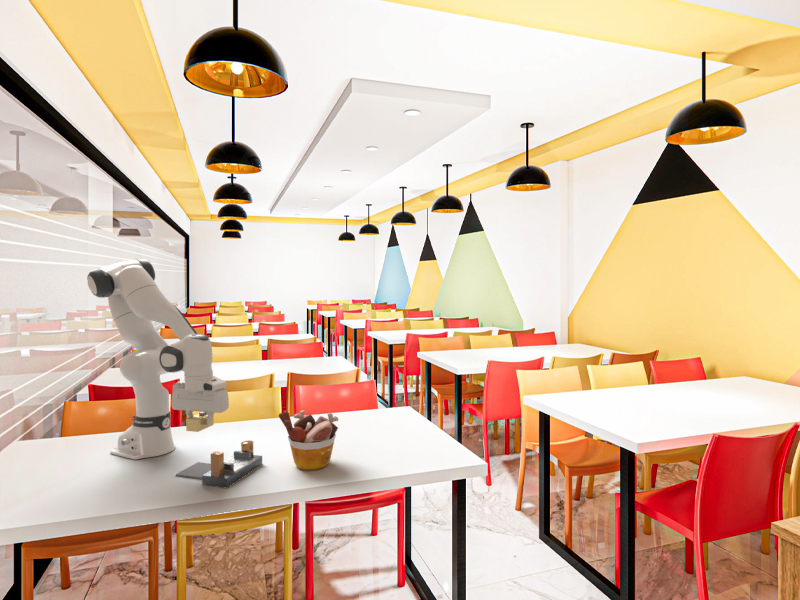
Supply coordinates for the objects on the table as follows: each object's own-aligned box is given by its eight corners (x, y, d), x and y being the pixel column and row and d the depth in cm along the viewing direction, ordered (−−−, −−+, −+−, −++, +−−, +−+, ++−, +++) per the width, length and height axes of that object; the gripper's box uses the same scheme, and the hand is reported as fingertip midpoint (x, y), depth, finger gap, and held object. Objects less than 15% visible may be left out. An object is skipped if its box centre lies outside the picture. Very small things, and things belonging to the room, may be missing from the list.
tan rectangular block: (198, 431, 160) (197, 417, 160) (186, 430, 161) (185, 416, 161) (213, 424, 167) (213, 410, 167) (202, 423, 169) (202, 410, 168)
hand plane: (227, 488, 152) (226, 456, 151) (202, 484, 154) (201, 453, 154) (262, 464, 171) (261, 436, 171) (239, 461, 173) (239, 433, 173)
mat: (175, 476, 161) (175, 474, 161) (198, 463, 172) (197, 462, 172) (204, 479, 158) (204, 477, 158) (225, 467, 169) (225, 465, 169)
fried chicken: (332, 453, 182) (332, 399, 181) (345, 469, 167) (344, 411, 166) (277, 461, 174) (276, 405, 173) (285, 478, 159) (284, 417, 158)
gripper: (166, 383, 163) (167, 424, 164) (219, 386, 158) (220, 428, 158) (179, 379, 169) (180, 419, 170) (230, 382, 164) (232, 423, 164)
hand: (200, 423), depth 164 cm, fingers closed on tan rectangular block, 4 cm apart
